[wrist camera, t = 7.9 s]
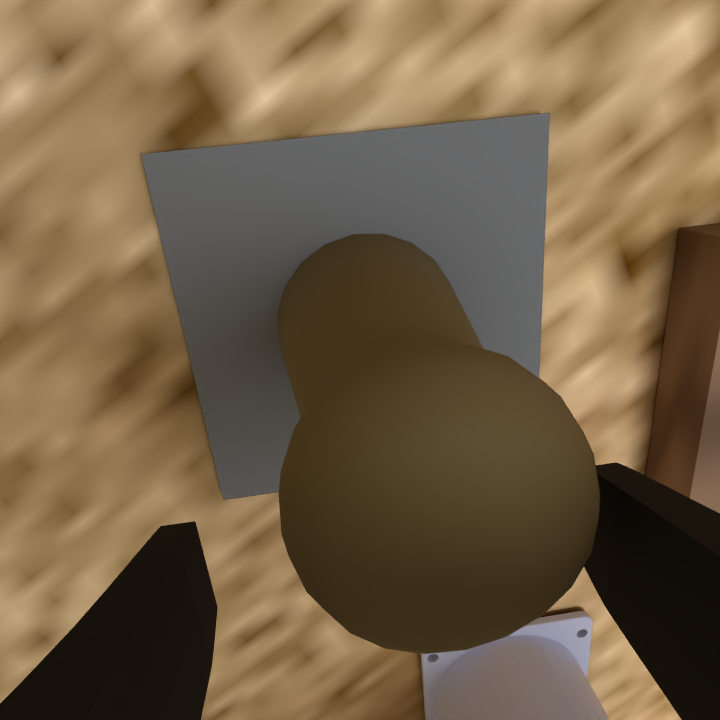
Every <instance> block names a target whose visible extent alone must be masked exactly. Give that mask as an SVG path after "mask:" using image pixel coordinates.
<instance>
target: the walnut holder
mask: <svg viewBox="0 0 720 720" xmlns="http://www.w3.org/2000/svg"><path fill="white" fill-rule="evenodd" d="M646 476H647V477H649V478H651V479H653V480H655V481H657V482H659V483H661V484H663V485H665V486H667V487H669V488H671V489H673V490H675V491H677V492H679V493H681V494H683V495H685V496H686V497H688V498H690V499H692V500H694V501H696V502H698V503H700V504H702V505H704V506H706V507H708V508H710V509H712V510H714V511H716V512H718V513H720V223H719V224H711V225H702V226H694V227H685V228H679V234H678V242H677V249H676V256H675V264H674V271H673V278H672V286H671V293H670V300H669V307H668V315H667V322H666V329H665V337H664V344H663V351H662V359H661V366H660V373H659V381H658V388H657V395H656V403H655V410H654V417H653V425H652V432H651V439H650V446H649V454H648V461H647V468H646Z"/></svg>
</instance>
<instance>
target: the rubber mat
mask: <svg viewBox="0 0 720 720" xmlns="http://www.w3.org/2000/svg"><path fill="white" fill-rule="evenodd" d="M549 118H550V113H543V114H533V115H523V116H513V117H503V118H494V119H484V120H474V121H464V122H454V123H444V124H434V125H425V126H415V127H405V128H395V129H385V130H375V131H365V132H356V133H346V134H336V135H326V136H316V137H306V138H296V139H286V140H277V141H267V142H257V143H247V144H237V145H227V146H217V147H208V148H198V149H188V150H178V151H168V152H158V153H148V154H141V157H142V161H143V166H144V170H145V174H146V178H147V182H148V187H149V191H150V195H151V199H152V203H153V208H154V212H155V216H156V220H157V224H158V229H159V233H160V237H161V241H162V245H163V250H164V254H165V258H166V262H167V266H168V270H169V275H170V279H171V283H172V287H173V291H174V296H175V300H176V304H177V308H178V312H179V317H180V321H181V325H182V329H183V333H184V338H185V342H186V346H187V350H188V354H189V359H190V363H191V367H192V371H193V375H194V379H195V384H196V388H197V392H198V396H199V400H200V405H201V409H202V413H203V417H204V421H205V426H206V430H207V434H208V438H209V442H210V447H211V451H212V455H213V459H214V463H215V468H216V472H217V476H218V480H219V484H220V489H221V493H222V497H223V500H227V499H234V498H241V497H248V496H255V495H262V494H269V493H276V492H279V484H280V473H281V468H282V465H283V462H284V459H285V455H286V452H287V449H288V446H289V443H290V439H291V436H292V433H293V430H294V428H295V426H296V425H297V423H298V421H299V420H300V414H299V411H298V407H297V403H296V400H295V396H294V393H293V389H292V386H291V382H290V379H289V375H288V371H287V368H286V364H285V361H284V357H283V354H282V350H281V347H280V343H279V333H278V317H277V313H278V310H279V306H280V303H281V299H282V295H283V292H284V288H285V286H286V284H287V283H288V281H289V280H290V278H291V277H292V275H293V274H294V273H295V271H296V270H297V268H298V267H299V265H300V264H301V262H303V261H304V260H305V259H306V258H308V257H309V256H310V255H312V254H313V253H314V252H316V251H317V250H318V249H320V248H321V247H322V246H323V245H325V244H327V243H330V242H333V241H336V240H338V239H341V238H344V237H347V236H350V235H353V234H387V235H390V236H393V237H396V238H399V239H402V240H405V241H409V242H412V243H413V244H414V245H416V246H417V247H418V248H420V249H421V250H422V251H424V252H425V253H426V254H428V255H429V256H430V257H432V258H433V259H434V260H435V261H436V262H437V264H438V265H439V267H440V268H441V270H442V271H443V273H444V274H445V276H446V277H447V279H448V280H449V282H450V284H451V286H452V288H453V290H454V292H455V294H456V295H457V297H458V299H459V301H460V303H461V305H462V307H463V309H464V311H465V313H466V315H467V317H468V319H469V321H470V323H471V325H472V327H473V329H474V331H475V333H476V335H477V337H478V339H479V341H480V343H481V345H482V347H483V349H486V350H489V351H493V352H496V353H499V354H503V355H506V356H509V357H510V358H512V359H513V360H514V361H516V362H517V363H519V364H520V365H521V366H523V367H524V368H526V369H527V370H528V371H530V372H531V373H533V374H534V375H535V376H537V377H538V378H539V368H540V343H541V318H542V293H543V268H544V243H545V218H546V193H547V168H548V143H549Z"/></svg>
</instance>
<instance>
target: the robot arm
mask: <svg viewBox="0 0 720 720" xmlns="http://www.w3.org/2000/svg"><path fill="white" fill-rule="evenodd" d="M596 472H597V478H598V484H599V490H600V507H599V519H598V524H597V528H596V533H595V538H594V543H593V548H592V552H591V555H590V556H589V558H588V560H587V561H586V563H585V565H584V567H585V569H586V571H587V573H588V575H589V577H590V579H591V581H592V583H593V585H594V587H595V589H596V591H597V592H598V594H599V596H600V598H601V600H602V602H603V604H604V605H605V607H606V608H607V610H608V611H609V613H610V615H611V616H612V618H613V619H614V621H615V622H616V624H617V625H618V627H619V628H620V630H621V631H622V633H623V634H624V635H625V637H626V638H627V640H628V641H629V643H630V644H631V646H632V647H633V649H634V650H635V652H636V653H637V655H638V656H639V658H640V659H641V661H642V662H643V664H644V665H645V666H646V668H647V669H648V671H649V672H650V674H651V675H652V677H653V678H654V680H655V681H656V683H657V684H658V686H659V687H660V688H661V690H662V691H663V693H664V694H665V696H666V697H667V699H668V700H669V702H670V703H671V705H672V706H673V708H674V709H675V710H676V712H677V713H678V715H679V716H680V718H681V719H682V720H720V513H718V512H716V511H714V510H712V509H710V508H708V507H706V506H704V505H702V504H700V503H698V502H696V501H694V500H692V499H690V498H688V497H686V496H685V495H683V494H681V493H679V492H677V491H675V490H673V489H671V488H669V487H667V486H665V485H663V484H661V483H659V482H657V481H655V480H653V479H651V478H649V477H647V476H645V475H643V474H641V473H639V472H637V471H635V470H632V469H630V468H628V467H626V466H624V465H621V464H619V463H610V464H603V465H596ZM216 618H217V604H216V600H215V596H214V592H213V588H212V584H211V581H210V577H209V573H208V569H207V565H206V561H205V557H204V554H203V550H202V546H201V542H200V538H199V534H198V530H197V527H196V523H195V522H188V523H180V524H173V525H166V526H160V528H159V529H158V530H157V531H156V532H155V533H154V534H153V535H152V537H151V538H150V539H149V540H148V541H147V542H146V544H145V545H144V546H143V547H142V548H141V550H140V551H139V552H138V553H137V554H136V555H135V557H134V558H133V559H132V560H131V561H130V563H129V564H128V565H127V566H126V567H125V568H124V570H123V571H122V572H121V573H120V574H119V576H118V577H117V578H116V579H115V580H114V581H113V583H112V584H111V585H110V586H109V587H108V588H107V590H106V591H105V592H104V593H103V594H102V595H101V597H100V598H99V599H98V600H97V601H96V602H95V603H94V605H93V606H92V607H91V608H90V609H89V610H88V611H87V612H86V614H85V615H84V616H83V617H82V618H81V619H80V620H79V622H78V623H77V624H76V625H75V626H74V627H73V628H72V629H71V630H70V631H69V633H68V634H67V635H66V636H65V637H64V638H63V639H62V640H61V641H60V642H59V643H58V644H57V645H56V646H55V647H54V648H53V650H52V651H51V652H50V653H49V654H48V655H47V656H46V657H45V658H44V659H43V660H42V661H41V662H40V663H39V664H38V665H37V666H36V668H35V669H34V670H33V671H32V672H31V673H30V674H29V675H28V676H27V677H26V678H25V679H24V680H23V681H22V682H21V683H20V684H19V685H18V686H17V687H16V688H15V689H14V690H13V691H12V692H11V693H10V694H9V695H8V696H7V697H6V698H5V699H4V700H3V701H2V702H1V703H0V720H201V716H202V711H203V706H204V702H205V697H206V692H207V687H208V682H209V677H210V672H211V667H212V659H213V650H214V641H215V629H216ZM592 626H593V621H592V619H591V617H590V615H589V614H588V613H587V612H584V611H577V612H571V613H565V614H559V615H553V616H547V617H541V618H537V619H536V620H534V621H532V622H531V623H529V624H527V625H526V626H524V627H522V628H521V629H519V630H517V631H516V632H514V633H512V634H510V635H509V636H507V637H505V638H502V639H499V640H495V641H492V642H489V643H486V644H483V645H480V646H477V647H474V648H471V649H468V650H462V651H452V652H441V653H431V654H421V653H420V654H421V668H422V682H423V695H424V709H425V720H609V718H608V716H607V714H606V713H605V711H604V709H603V707H602V705H601V703H600V702H599V700H598V698H597V696H596V694H595V692H594V691H593V689H592V687H591V685H590V683H589V681H588V680H587V674H588V665H589V655H590V645H591V636H592Z"/></svg>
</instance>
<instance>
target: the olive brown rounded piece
mask: <svg viewBox="0 0 720 720" xmlns="http://www.w3.org/2000/svg"><path fill="white" fill-rule="evenodd" d="M277 317H278V333H279V343H280V347H281V350H282V354H283V357H284V361H285V364H286V368H287V371H288V375H289V379H290V382H291V386H292V389H293V393H294V396H295V400H296V403H297V407H298V411H299V414H300V420H299V421H298V423H297V425H296V426H295V428H294V430H293V433H292V436H291V439H290V443H289V446H288V449H287V452H286V455H285V459H284V462H283V465H282V468H281V473H280V484H279V503H280V517H281V531H282V536H283V539H284V543H285V546H286V549H287V552H288V555H289V557H290V559H291V561H292V564H293V566H294V568H295V570H296V572H297V574H298V576H299V578H300V580H301V582H302V584H303V586H304V588H305V590H306V592H307V593H308V594H309V595H310V596H311V597H312V598H313V599H314V600H315V601H316V602H317V603H318V604H319V605H320V606H321V607H322V608H323V609H324V610H325V611H327V612H328V613H329V614H330V615H331V616H332V617H333V618H334V619H335V620H336V621H338V622H339V623H340V624H341V625H342V626H343V627H344V628H345V629H346V630H347V631H349V632H350V633H351V634H354V635H356V636H358V637H360V638H363V639H365V640H367V641H369V642H372V643H374V644H376V645H379V646H381V647H383V648H386V649H393V650H400V651H407V652H414V653H421V654H431V653H441V652H452V651H462V650H468V649H471V648H474V647H477V646H480V645H483V644H486V643H489V642H492V641H495V640H499V639H502V638H505V637H507V636H509V635H510V634H512V633H514V632H516V631H517V630H519V629H521V628H522V627H524V626H526V625H527V624H529V623H531V622H532V621H534V620H536V619H537V618H539V617H541V616H542V615H543V614H544V613H545V612H546V611H548V610H549V609H550V608H551V607H552V606H553V605H554V604H555V603H556V602H557V601H558V600H559V599H560V598H561V597H562V596H563V595H564V594H565V593H566V592H567V591H568V590H569V589H570V588H571V587H572V585H573V584H574V582H575V580H576V579H577V577H578V575H579V573H580V572H581V570H582V568H583V567H584V565H585V563H586V561H587V560H588V558H589V556H590V555H591V552H592V548H593V543H594V538H595V533H596V528H597V524H598V519H599V507H600V490H599V484H598V478H597V472H596V466H595V460H594V454H593V452H592V450H591V448H590V445H589V443H588V441H587V439H586V437H585V435H584V432H583V431H582V429H581V428H580V426H579V425H578V423H577V421H576V420H575V418H574V417H573V415H572V414H571V412H570V410H569V409H568V407H567V406H566V404H565V403H564V401H563V399H562V398H561V396H559V395H558V394H557V393H556V392H555V391H554V390H553V389H552V388H551V387H549V386H548V385H547V384H546V383H545V382H544V381H542V380H541V379H540V378H538V377H537V376H535V375H534V374H533V373H531V372H530V371H528V370H527V369H526V368H524V367H523V366H521V365H520V364H519V363H517V362H516V361H514V360H513V359H512V358H510V357H509V356H506V355H503V354H499V353H496V352H493V351H489V350H486V349H483V347H482V345H481V343H480V341H479V339H478V337H477V335H476V333H475V331H474V329H473V327H472V325H471V323H470V321H469V319H468V317H467V315H466V313H465V311H464V309H463V307H462V305H461V303H460V301H459V299H458V297H457V295H456V294H455V292H454V290H453V288H452V286H451V284H450V282H449V280H448V279H447V277H446V276H445V274H444V273H443V271H442V270H441V268H440V267H439V265H438V264H437V262H436V261H435V260H434V259H433V258H432V257H430V256H429V255H428V254H426V253H425V252H424V251H422V250H421V249H420V248H418V247H417V246H416V245H414V244H413V243H412V242H409V241H405V240H402V239H399V238H396V237H393V236H390V235H387V234H353V235H350V236H347V237H344V238H341V239H338V240H336V241H333V242H330V243H327V244H325V245H323V246H322V247H321V248H320V249H318V250H317V251H316V252H314V253H313V254H312V255H310V256H309V257H308V258H306V259H305V260H304V261H303V262H301V264H300V265H299V267H298V268H297V270H296V271H295V273H294V274H293V275H292V277H291V278H290V280H289V281H288V283H287V284H286V286H285V288H284V292H283V295H282V299H281V303H280V306H279V310H278V313H277Z"/></svg>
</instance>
